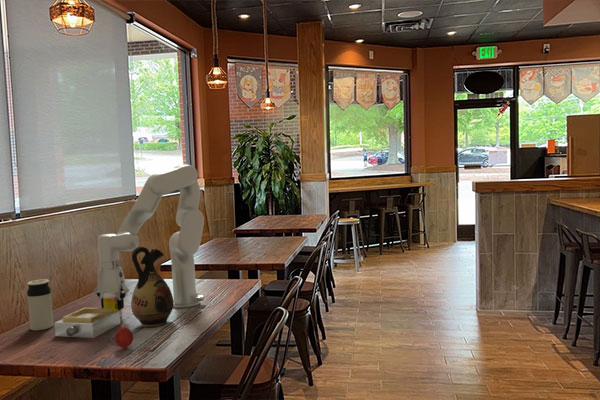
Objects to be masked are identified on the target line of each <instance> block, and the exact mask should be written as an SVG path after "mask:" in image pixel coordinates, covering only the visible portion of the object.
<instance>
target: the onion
mask: <svg viewBox="0 0 600 400" xmlns="http://www.w3.org/2000/svg"><path fill="white" fill-rule="evenodd" d="M133 341H134V334H133V332H132V331H131V329H129V327H126V326H125V325H124V324H123V325H121V326H120V328H119V329H118V330H117V331H116V332H115V334H114V343H115V345H116V346H118V347H119V348H121V349H122V350H126V349H127V348H128V347H129V346H131V345H132V343H133Z"/></svg>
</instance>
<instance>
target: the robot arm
mask: <svg viewBox="0 0 600 400" xmlns="http://www.w3.org/2000/svg"><path fill="white" fill-rule="evenodd" d="M198 177H199V174H198V170H197V169H196V167H194V166H193V165H192V164H179V165H176V166H174V167H173V168H172V169H171V170H169V171H165V172H161V173H154V174H151V175H150V176H149V177H148V178H147V180H146V181H145V183H144V185H143V186H142V189H141V191H140V193H139V194H138V197H137V198H136V200H135V202H134V205H133V206H132V207H131V208H130V211H129V212H128V213H127V214H126V216H125V217H124V220H123V221H122V223H121V225H120V226H119V229H118V230H117V233H104V234H100V235H99V236H97V248H98V263H99V264H98V265H99V269H98V271H97V285H96V286H95V287H94V288H93V292H94V293H95V294H96V296H97V297H98V299H99V300H100V303H101V304H100V305H101V308H104V303H103V294H104V293H107V292H109V293H113V294H116V296H117V298H118V300H117V307H118V310H121V309H122V310H123V309H124V308H125V301H124V299H126V296H128V294H129V292H130V291H131V290H130V288H128V286H127V285H126V277H125V274H124V270H123V267H121V266H122V264H123V263H122V261H120V252H133V250H134V249H136V248H137V247H139V245H140V238H139V236H138V235H137V234H138V233H139V230H140V229H141V227H143V224H144V223H145V222H146V221H147V220H149V219H150V218H152V216H153V215H154V214H155V212H156V210H157V208H158V206H159V204H160V202H161V200H162V198H163V196H164V195H167V194H170V193H173V192H176V191H179V199H178V200H179V201H178V206H177V210H176V214H175V222H176V224H177V226H179V227H180V229H179V231H176V232H174V233H173V234H172V235H171V236H170V238H169V241H168V248H169V249H168V250H169V254H170V261H171V263H170V264H171V277H172V278H171V280H172V290H173V293H172V295H173V301H174V305H173V309H174V308H176V309H186V308H191V307H195V306H198V305H200V303H201V302H204V301H205V296H204V295H199V292H198V291H197V290H196V289H197V288H196V287H197V285H196V270H195V266H196V265H195V257H194V255H196V254H197V252H198V251H199V250H200V247H201V242H202V238H203V237H202V236H203V232H204V228H205V227H204V226H205V217H204V214H203V212H202V211H201V210H200V209H199V207H200V200H201V188H200V185H199V183H198V181H197V180H198ZM107 289H109V290H107ZM119 293H120V294H119Z"/></svg>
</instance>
